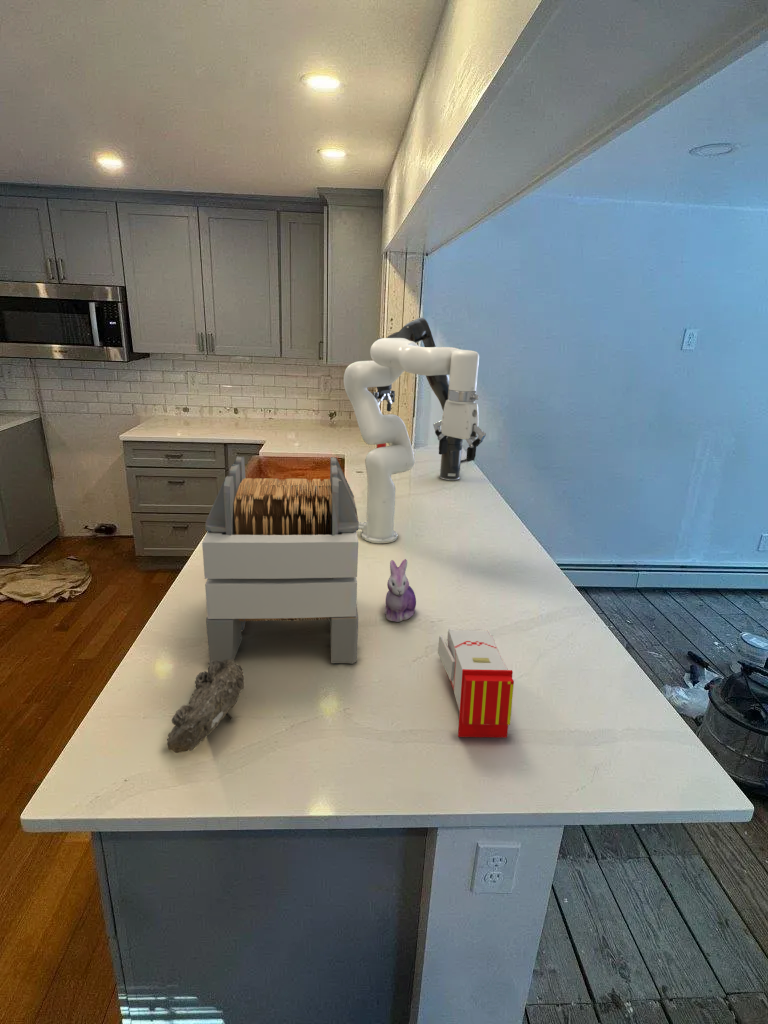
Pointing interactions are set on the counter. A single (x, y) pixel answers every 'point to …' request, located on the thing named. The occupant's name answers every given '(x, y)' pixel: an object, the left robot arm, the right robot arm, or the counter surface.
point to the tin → (381, 445)
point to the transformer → (281, 558)
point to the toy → (478, 682)
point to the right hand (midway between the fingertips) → (383, 411)
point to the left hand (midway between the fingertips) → (456, 457)
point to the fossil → (206, 705)
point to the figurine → (399, 594)
